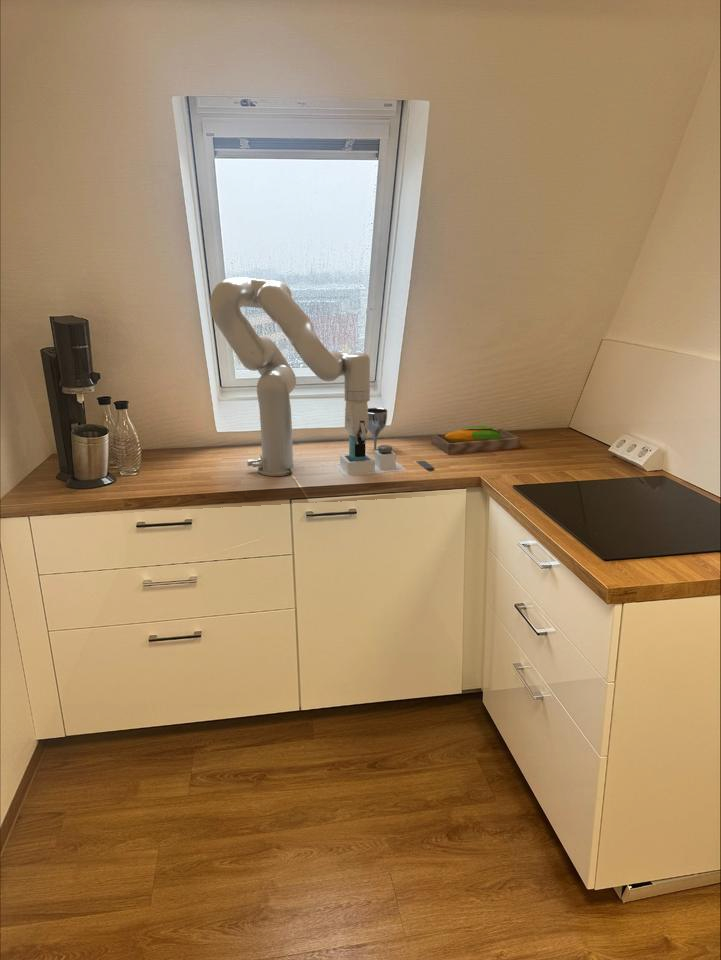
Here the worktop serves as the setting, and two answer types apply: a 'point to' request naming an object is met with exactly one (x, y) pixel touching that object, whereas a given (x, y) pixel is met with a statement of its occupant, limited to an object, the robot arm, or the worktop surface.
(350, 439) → the cylinder
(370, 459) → the housing
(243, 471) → the worktop surface
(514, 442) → the brown rectangular tray
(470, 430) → the corn
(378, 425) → the wine glass
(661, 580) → the worktop surface
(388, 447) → the plunger
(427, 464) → the mat
